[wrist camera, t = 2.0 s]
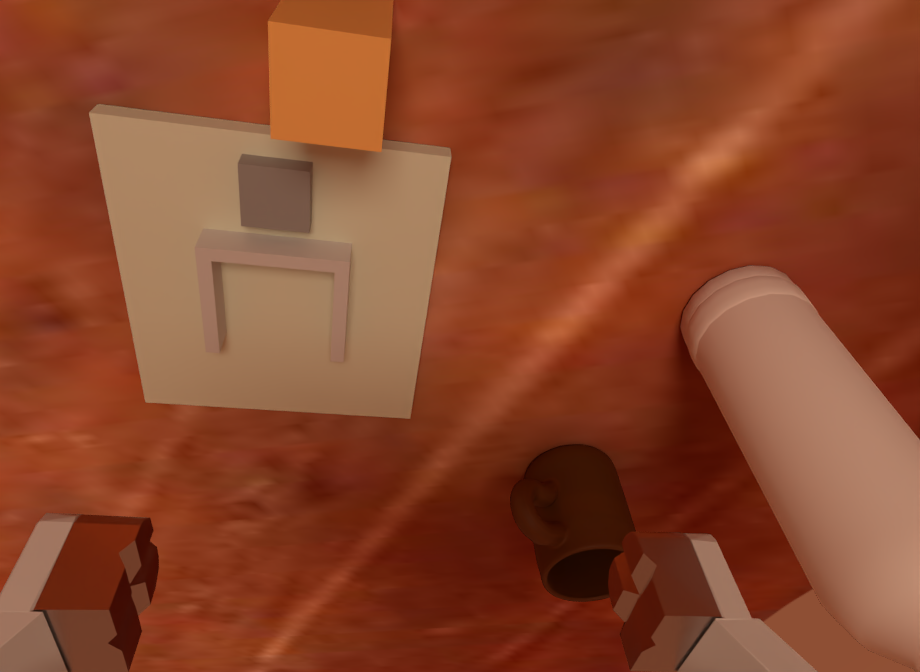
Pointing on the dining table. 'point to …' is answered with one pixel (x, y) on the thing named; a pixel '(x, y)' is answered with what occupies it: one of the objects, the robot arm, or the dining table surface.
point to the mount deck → (271, 262)
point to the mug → (573, 519)
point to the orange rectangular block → (329, 71)
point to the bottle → (818, 450)
